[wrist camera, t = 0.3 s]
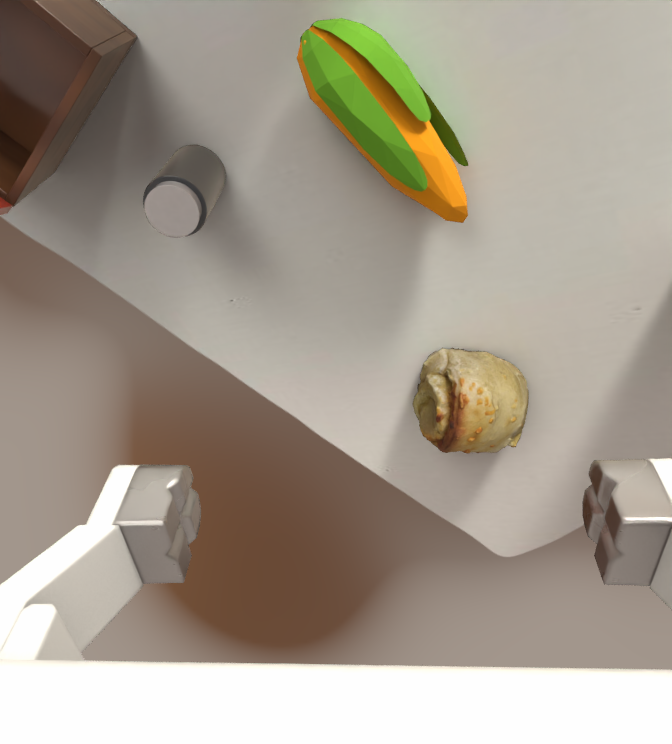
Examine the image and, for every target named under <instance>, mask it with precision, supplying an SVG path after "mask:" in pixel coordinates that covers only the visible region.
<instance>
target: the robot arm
mask: <svg viewBox="0 0 672 744" xmlns="http://www.w3.org/2000/svg"><path fill="white" fill-rule="evenodd" d="M589 477H590V479H591V482H592V485H591V486H589V487H588V488H587V489H586V490H585V492H584V497H583V519H584V525H585V528H586V532H587V535H588V537H589V538H590V539H591V540H593V541H594V542H595V543H596V544H597V547H596V552H595V555H594V556H595V559H596V562H597V565H598V568H599V570H600V573H601V577H602V580H603V582H604V584H607V585H641V586H650V589H651V590H652V591H653V592H654V593H655V594H656V595H657V596H658V597H659V598H660V599H661V600H662V601H663V602H665V604H666V605H667V606H668V607H669V608H670V609H671V610H672V458H669V459H647V460H645V459H625V460H594V461H593V463H592V464H591V467H590V471H589ZM192 481H193V476H192V473H191V470H190V467H188V466H186V465H117V466H116V467H114V468H113V469H112V470H111V472H110V475H109V477H108V479H107V481H106V483H105V485H104V487H103V489H102V491H101V494H100V496H99V498H98V500H97V502H96V504H95V506H94V508H93V510H92V513H91V515H90V517H89V519H88V521H87V523H86V525H79V526H77V527H76V528H75V529H73V530H72V531H71V532H69V533H68V534H67V535H65V536H64V537H63V538H61V539H60V540H59V541H57V542H56V543H55V544H53V545H52V546H51V547H50V548H48V549H47V550H46V551H44V552H43V553H42V554H40V555H39V556H38V557H37V558H35V559H34V560H32V561H31V562H30V563H29V564H27V565H26V566H24V567H23V568H22V569H21V570H19V571H18V572H17V573H15V574H14V575H13V576H11V577H10V578H9V579H7V580H6V581H5V582H3V583H2V584H1V585H0V744H672V670H669V669H662V670H661V669H601V668H533V667H530V668H528V667H459V666H456V667H455V666H395V665H393V666H392V665H330V664H268V663H267V664H266V663H201V662H199V663H198V662H135V661H134V662H131V661H85V659H84V657H83V656H82V654H81V653H82V652H83V651H84V650H85V649H86V648H87V647H88V646H89V645H90V643H91V642H92V641H93V640H94V639H95V638H96V637H97V636H98V635H99V634H100V632H101V631H102V630H103V629H104V628H105V627H106V626H107V625H108V624H109V623H110V622H111V621H112V619H113V618H114V617H115V616H116V615H117V614H118V613H119V612H120V611H121V610H122V609H123V608H124V607H125V605H126V604H127V603H128V602H129V601H130V600H131V599H132V598H133V597H134V596H135V594H136V593H137V592H138V591H139V590H140V589H141V588H142V587H143V584H145V583H183V582H184V580H185V576H186V573H187V569H188V566H189V563H190V559H191V556H192V555H191V552H190V548H189V544H190V543H191V542H192V541H193V540H194V539H196V538H197V534H198V530H199V527H200V518H201V517H200V516H201V507H200V500H199V496H198V493H197V492H196V491H194V490H193V489H192V488H191V484H192Z"/></svg>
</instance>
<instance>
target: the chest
mask: <svg viewBox="0 0 672 744" xmlns="http://www.w3.org/2000/svg"><path fill="white" fill-rule="evenodd" d="M136 38H137V36H136V35H135V34H134V33H133V32H132V31H131V30H130V29H128V28H127V27H126V26H125V25H124V24H123V23H121V22H120V21H119V20H118V19H117V18H116V17H114V16H113V15H112V14H111V13H110V12H109V11H108V10H106V9H105V8H104V7H103V6H102V5H101V4H99V3H98V2H97V1H96V0H0V197H1V198H2V199H4V200H5V201H7V202H8V203H10V204H11V205H12V206H13V207H14V206H15V205H16V204H17V203H19V202H20V201H21V200H22V199H23V198H25V197H26V196H27V195H28V194H29V193H31V192H32V191H33V190H34V189H35V188H37V187H38V186H39V185H40V184H41V183H43V182H44V181H45V180H46V179H47V178H49V177H50V176H51V175H52V174H53V173H54V172H55V171H56V169H57V168H58V166H59V164H60V163H61V161H62V159H63V158H64V156H65V154H66V153H67V151H68V150H69V148H70V146H71V145H72V143H73V141H74V140H75V138H76V136H77V135H78V133H79V132H80V130H81V128H82V127H83V125H84V123H85V122H86V120H87V118H88V117H89V115H90V114H91V112H92V110H93V109H94V107H95V105H96V104H97V102H98V100H99V99H100V97H101V96H102V94H103V92H104V91H105V89H106V87H107V86H108V84H109V82H110V81H111V79H112V78H113V76H114V74H115V73H116V71H117V69H118V68H119V66H120V64H121V63H122V61H123V60H124V58H125V56H126V55H127V53H128V51H129V50H130V48H131V46H132V45H133V43H134V42H135V40H136Z"/></svg>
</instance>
